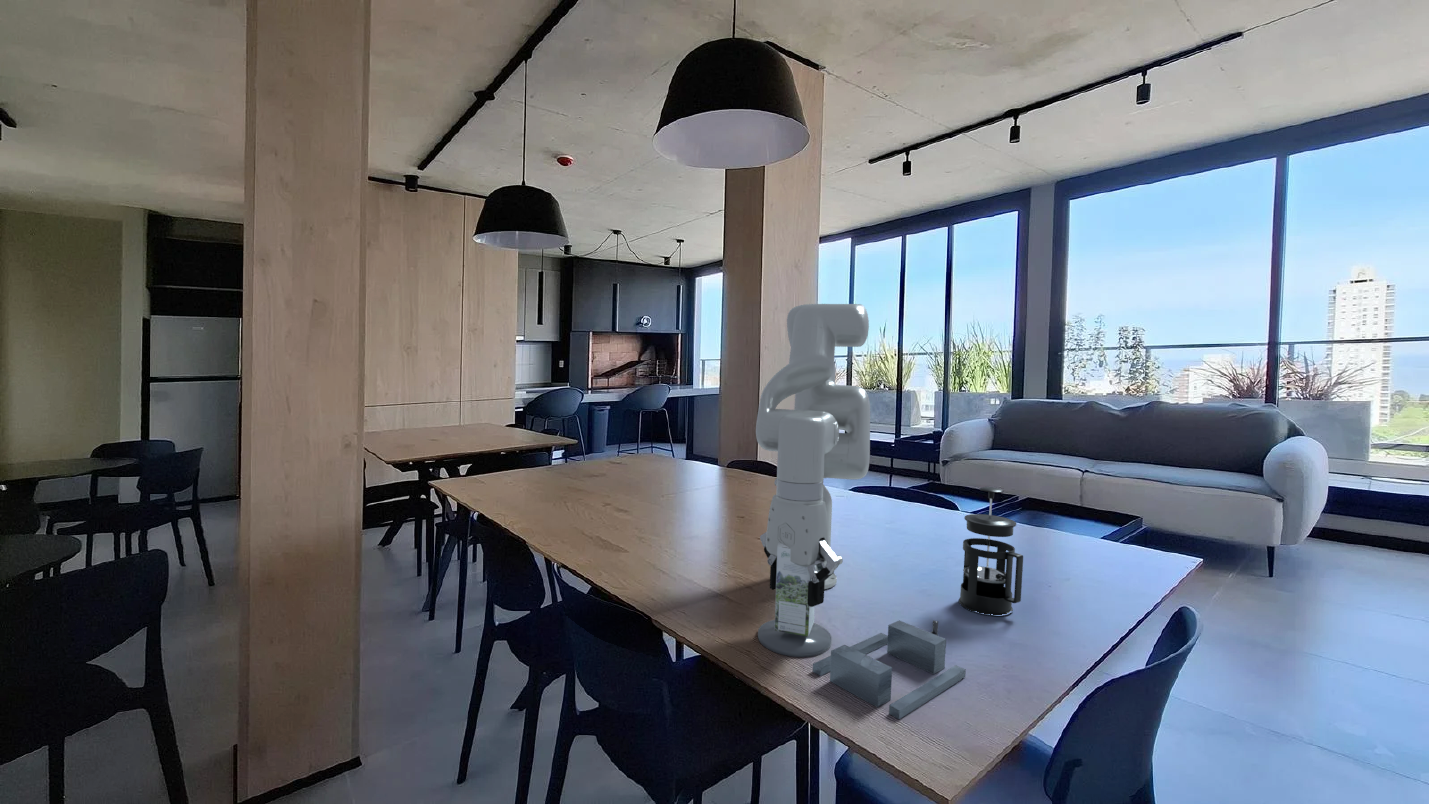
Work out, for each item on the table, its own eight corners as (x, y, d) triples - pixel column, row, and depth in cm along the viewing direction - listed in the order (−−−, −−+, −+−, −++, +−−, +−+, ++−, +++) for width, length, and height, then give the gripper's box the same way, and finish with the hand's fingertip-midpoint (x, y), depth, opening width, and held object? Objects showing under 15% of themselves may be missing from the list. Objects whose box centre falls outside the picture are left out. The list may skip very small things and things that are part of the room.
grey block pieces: (896, 632, 98) (897, 605, 98) (979, 668, 87) (981, 637, 87) (812, 671, 85) (813, 640, 85) (899, 719, 74) (900, 684, 73)
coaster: (792, 617, 104) (792, 612, 104) (846, 642, 94) (846, 637, 94) (742, 635, 96) (743, 630, 96) (796, 665, 87) (796, 659, 87)
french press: (945, 600, 113) (951, 484, 112) (975, 592, 118) (981, 481, 117) (1002, 624, 103) (1009, 497, 102) (1031, 613, 108) (1039, 492, 107)
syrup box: (814, 623, 97) (817, 538, 96) (808, 638, 92) (812, 548, 91) (781, 617, 99) (784, 534, 98) (773, 632, 93) (776, 544, 92)
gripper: (746, 483, 98) (743, 584, 99) (826, 504, 85) (821, 620, 86) (777, 479, 103) (774, 575, 104) (857, 497, 90) (853, 608, 91)
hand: (795, 595), depth 95 cm, fingers closed on syrup box, 7 cm apart
